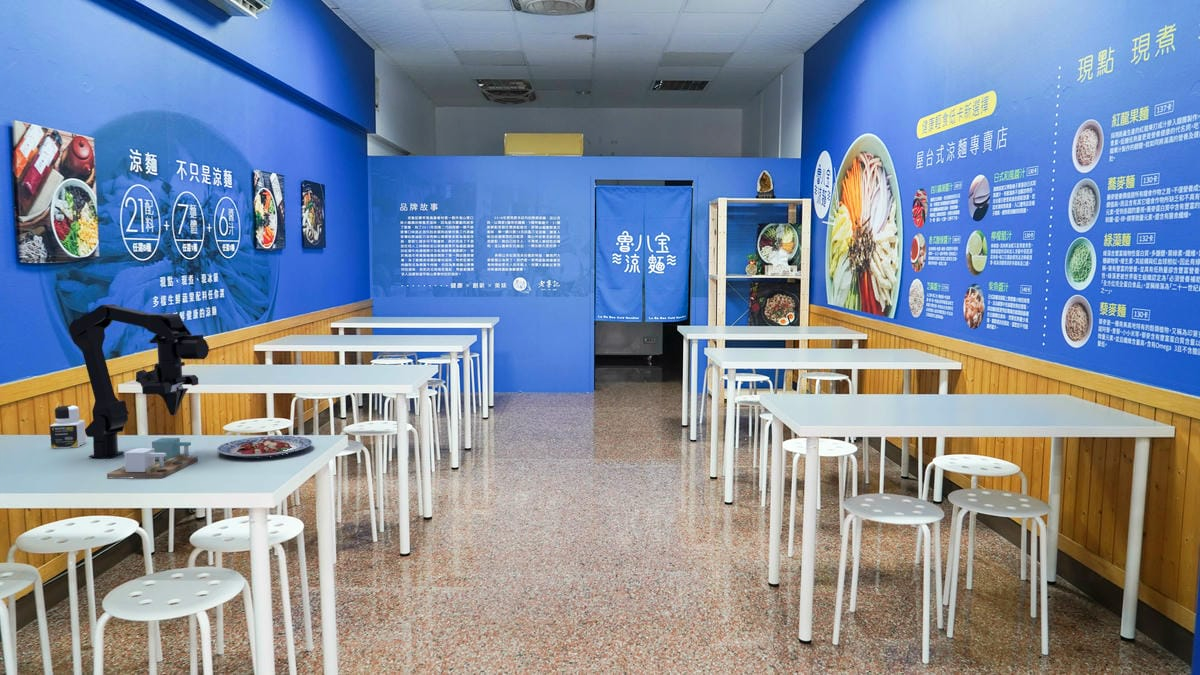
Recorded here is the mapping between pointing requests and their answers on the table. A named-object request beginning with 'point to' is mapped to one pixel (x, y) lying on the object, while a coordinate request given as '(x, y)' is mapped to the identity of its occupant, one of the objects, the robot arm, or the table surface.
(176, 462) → the board
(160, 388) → the robot arm
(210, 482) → the table surface
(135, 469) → the fixed leg
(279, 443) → the ceramic plate
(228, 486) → the table surface
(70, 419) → the medicine bottle
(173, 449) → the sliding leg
